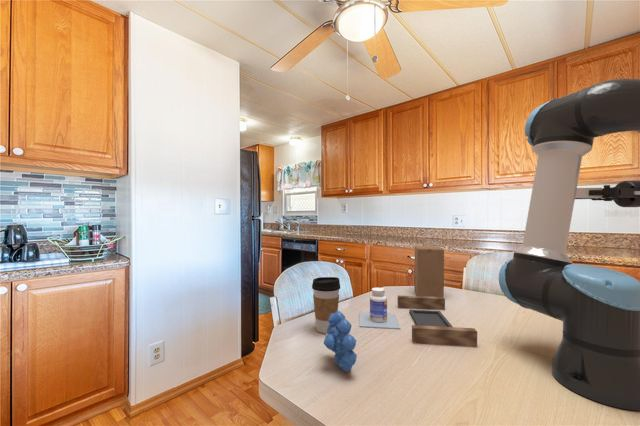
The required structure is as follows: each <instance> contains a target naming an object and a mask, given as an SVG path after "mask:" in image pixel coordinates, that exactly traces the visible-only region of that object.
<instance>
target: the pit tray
mask: <svg viewBox="0 0 640 426" xmlns="http://www.w3.org/2000/svg"><path fill="white" fill-rule="evenodd" d="M408 313H409V316H410V317H411V319H412V321H413V323H414V325H420V326H439V327H454V326H453V325H452V324H451V322H449V320H448V319H447V318H446V316H444V314H443V313H442V312H441V310H429V309H409V311H408Z"/></svg>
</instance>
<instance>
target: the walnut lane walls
mask: <svg viewBox="0 0 640 426" xmlns="http://www.w3.org/2000/svg"><path fill="white" fill-rule="evenodd" d="M397 308H398V309H407V310H408V309H409V310H430V311H445V310H446V298H445V297H427V296H416V295H397ZM411 342H412V343H413V344H422V345H423V344H425V345H438V346H439V345H440V346H441V345H442V346H453V347H454V346H456V347H457V346H459V347H472V348H473V347H474V348H476V347H478V330H477V329H476V328H473V327H459V326H458V327H457V326H456V327H454V326H453V327H439V326H420V325H415V324H412V325H411Z"/></svg>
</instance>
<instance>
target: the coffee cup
mask: <svg viewBox="0 0 640 426" xmlns="http://www.w3.org/2000/svg"><path fill="white" fill-rule="evenodd" d="M311 289H312V290H313V296H312V299H313V307H314V310H313V311H314V318H315V319H314V320H315V330H316V331H317V332H319V333H322V334H328V333H327V329H328V326H329V325H330V323H329V322H328V319H329V317H330V315H331V314H332V313H335V312H336V311H339V300H340V290H341V283H340V278H339V277H337V276H334V277H333V276H325V277H324V276H323V277H321V276H320V277H316V278H313V279H312V284H311Z"/></svg>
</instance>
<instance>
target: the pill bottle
mask: <svg viewBox="0 0 640 426" xmlns="http://www.w3.org/2000/svg"><path fill="white" fill-rule="evenodd" d="M385 294H386V293H385V288H383V287H372V288H371V294H370V296H369V312H370V319H371V320H372V321H375V322H385V321H386V320H387V313H388V297H387V296H386V295H385Z"/></svg>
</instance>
